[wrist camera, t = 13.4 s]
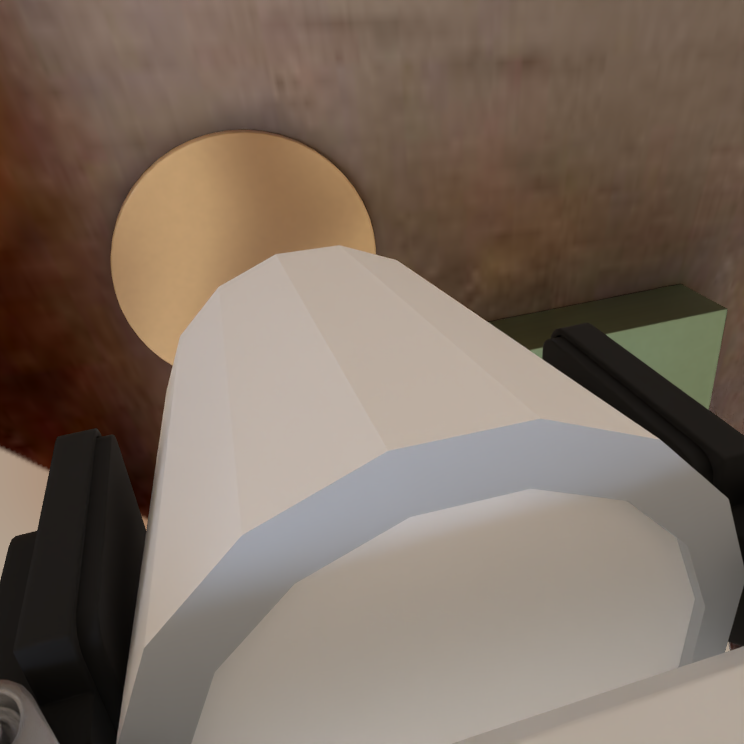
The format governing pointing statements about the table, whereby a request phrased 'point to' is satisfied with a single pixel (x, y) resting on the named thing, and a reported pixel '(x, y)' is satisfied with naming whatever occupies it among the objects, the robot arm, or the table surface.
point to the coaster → (223, 224)
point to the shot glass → (402, 525)
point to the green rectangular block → (643, 332)
